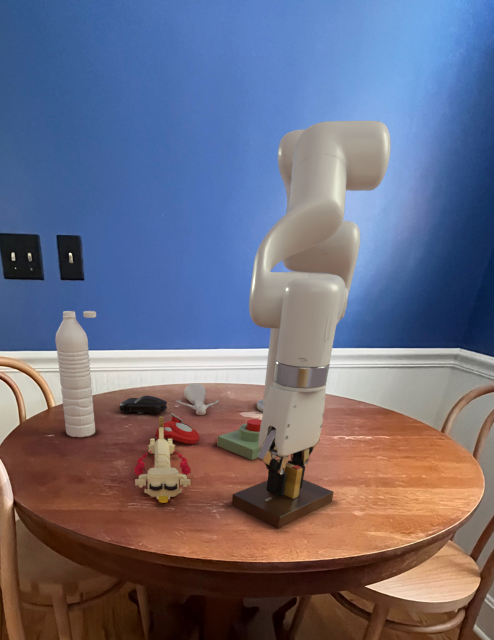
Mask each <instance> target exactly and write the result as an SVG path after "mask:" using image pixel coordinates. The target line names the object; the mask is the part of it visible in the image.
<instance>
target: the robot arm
mask: <svg viewBox="0 0 494 640" xmlns="http://www.w3.org/2000/svg"><path fill="white" fill-rule="evenodd" d="M391 146H392V143H391V135H390V131H389V128H388V127H387V125H386V124H385V123H384V122H383V121H379V120H327V121H321V122H317V123H314V124H312V125H310V126H308V127H307V128H304V129H295V130H291V131H289V132H287V133H285V134H284V135H283V136H282V137H281V139H280V141H279V143H278V148H277V166H278V167H277V168H278V171H279V175H280V178H281V181H282V183H283V185H284V189H285V194H286V210H285V214H284V215H282V216H281V217H280V218H279V219H278V220H277V221H276V222H275V224H273V226H272V227H270V229H269V230H268V231H267V233H266V234H265V235H264V237H263V238H262V240H261V242H260V243H259V245H258V248H257V250H256V253H255V256H254V259H253V266H252V270H251V271H252V272H251V281H250V287H249V297H248V312H249V317H250V319H251V321H252V323H253V324H255V325H256V326H257V327H260V328H264V329H270V332H269V342H268V343H269V344H268V352H267V361H266V369H265V381H264V390H263V398H262V399H259V400H258V401H257V402H256V409H258V411H260V412H262V416H261V420H262V421H261V427H260V433H259V442H258V446H259V448H260V449H261V451H260V453H259V455H258V458H257V460H258V461H260V462H261V463H263V464H264V465H265V467H266V470H268V474H267V480H266V481H267V491H268V492H270V493H272V494H275V495H277V496H279V497H281V496H283V495H284V490H285V483H286V476H287V474H286V473H284V471H285V467H286V464H287V463H290V464H292V465H298V466H301V468H302V469H303V470H302V476H301V482H300V488H302V484H303V479H304V477H305V471H306V466H307V465H308V464H309V461H310V455H311V454H312V452H313V451H314V448H316V446H317V445H318V444H319V443H320V440H321V433H322V429H323V423H324V414H325V406H326V388H327V382H328V376H329V370H330V363H331V358H332V352H333V346H334V342H335V341H334V340H335V337H336V336H335V335H336V330H337V325H338V324H339V323H340V321H341V320H342V319H344V317H345V314H346V310H347V307H348V303H349V300H348V299H349V294H350V291H351V286H352V283H353V278H354V274H355V270H356V265H357V262H358V258H359V252H360V245H361V232H360V231H361V230H360V228H359V226H358V225H357V223H355V222H354V221H351V220H344V218H345V212H346V211H345V208H346V194H347V193H346V192H347V191H350V192H353V191H354V192H357V191H358V192H361V191H363V192H364V191H365V192H368V191H369V192H370V191H374V190H375V189H377V188H378V187H379V186H380V185H381V183H382V182H383V180H384V178H385V175H386V174H387V170H388V168H389V163H390V158H391V148H392V147H391ZM280 262H282V264H283V266H284V267H285V269H287V270H289V271H284V272H283V271H277V272H276V271H272V270H273V269H274V268H275V267H276V266H277V265H278V264H279V263H280ZM277 448H278V450H277ZM289 456H290V459H289ZM277 458H279V459H280V462H279V463H278V461H277ZM300 488H299V489H300Z"/></svg>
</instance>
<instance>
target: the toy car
mask: <svg viewBox="0 0 494 640" xmlns="http://www.w3.org/2000/svg"><path fill="white" fill-rule="evenodd" d="M167 404H168V401H167V400H165V399H162V398H159V397H157V396H153V395H143V396H141V397H129V398H127V399H125V400H123V401H122V402H120V404H119V408H118V409H119V411H121V412H122V413H124V414H129V413H138V414H139V415H143V414H144V413H148V414H151V415H153V416H156V415H158V414H159V413H163V412H165V411H166V410H167V409H168V406H167Z"/></svg>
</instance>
